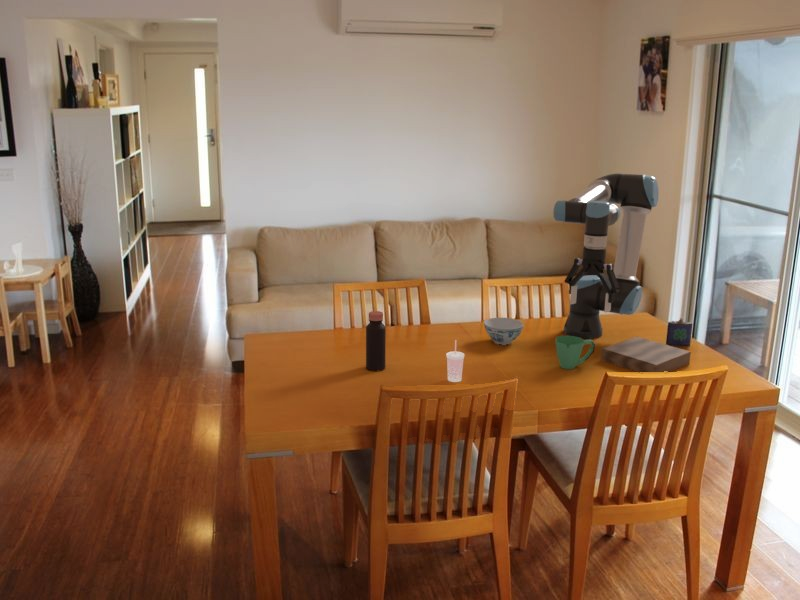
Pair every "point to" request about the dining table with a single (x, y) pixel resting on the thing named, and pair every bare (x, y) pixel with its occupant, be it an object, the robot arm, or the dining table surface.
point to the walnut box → (645, 355)
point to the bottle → (375, 342)
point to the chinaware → (503, 329)
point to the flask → (679, 333)
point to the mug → (572, 350)
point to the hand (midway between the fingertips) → (589, 307)
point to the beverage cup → (455, 365)
